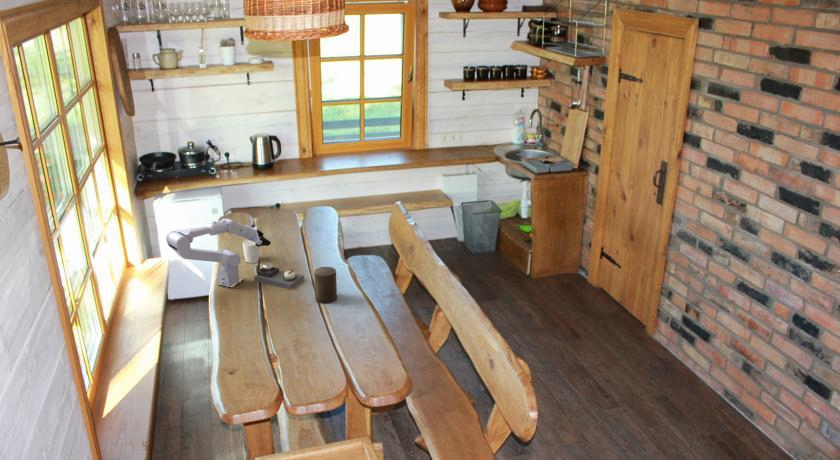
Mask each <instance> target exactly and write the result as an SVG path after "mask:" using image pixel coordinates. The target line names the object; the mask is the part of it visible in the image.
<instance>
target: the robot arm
mask: <svg viewBox="0 0 840 460" xmlns="http://www.w3.org/2000/svg"><path fill="white" fill-rule="evenodd" d="M227 233H229V234H230V235H235V236H237V237H241V238H243V239H245V240H250V241H252V242H255V243H256V244H255V245H256V246H257V247H259V248H260V247H264V246H266V247H267V246H268V247H269V246H270V245H271V243H272V242H271V241H270V240H269V239H267V238H266V237H265V236H264V233H263V232H262V231H261V230H259V228H258V227H257V226H255V224H251V226H250V225H249V224H243V223H240V222H237V221H235V220H232V219H231V218H228V217H227V218H226V217H224V218H222V219H221V220H219V221H215V220H213V221H211V222H209V223H208V224H207V225H205V226H200V227H199V226H198V227H191V228H181V229H177V230H171V231H170V232H168V233H167V235H166V238H165V239H166V242H167V245H168V247H170V248H171V250H173V251H174V252H175V254H177V255H178V256H179V257H180V258H182V259H184V260H189V261H190V260H191V261H192V260H193V261H199V262H200V261H201V262H210V263H211V262H212V263H219V264H221V268H220V269H219V271H218V272H217V278H218V280H217V281H218V283H219V285H223V286H228V287H230V286H232V285H233V284H235V283H238V282H239V278H240V272H239V264H241V256H240V255H239V254H238V253H235V252H233V251H231V250H230V249H229V248H223V249H217V250H212V249H201V248H194V247H193V248H192V247H191V244H192V243H193V242H194V238H196V237H202V236H204V235H209V236H211V237H212V236H217V235H221V234H227ZM219 285H218V286H219ZM223 286H222V287H223ZM228 287H227V288H228Z"/></svg>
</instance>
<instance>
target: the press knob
mask: <svg viewBox="0 0 840 460" xmlns="http://www.w3.org/2000/svg"><path fill="white" fill-rule="evenodd" d="M273 267H274V265H273V263H272V262H265V263H263V264H262V268H263V270H265V271H269V270H272V269H273Z"/></svg>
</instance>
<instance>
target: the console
mask: <svg viewBox="0 0 840 460" xmlns="http://www.w3.org/2000/svg"><path fill="white" fill-rule="evenodd" d="M256 272H257V273H256V275H255V276H254V282H256V283H261V284H265V285H269V286H274V287H278V288H282V289H287V290H292V289H294V288H295V287H296V286H298V285H300V284H301V283H302V282H303V281H304V280H305V275H304V274H298V273H295V278H293V279H285V278H284V273H285V272H286V271H285V270H281V269H280V268H279V267H275V266H273V269H272V270H269V271H265V270H263V267H262V268H260V269H258V270H257V271H256Z"/></svg>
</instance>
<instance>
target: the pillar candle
mask: <svg viewBox="0 0 840 460" xmlns="http://www.w3.org/2000/svg"><path fill="white" fill-rule="evenodd" d="M337 284H338V283H337V270H336V268H335V267H332V266H320V267H317V268H315V269H314V297H315V301H316V302H317V303H319V304H320V303H321V304H331V303H334V302H335V301H337V298H338V295H337V294H338V293H337V289H338V286H337Z"/></svg>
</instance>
